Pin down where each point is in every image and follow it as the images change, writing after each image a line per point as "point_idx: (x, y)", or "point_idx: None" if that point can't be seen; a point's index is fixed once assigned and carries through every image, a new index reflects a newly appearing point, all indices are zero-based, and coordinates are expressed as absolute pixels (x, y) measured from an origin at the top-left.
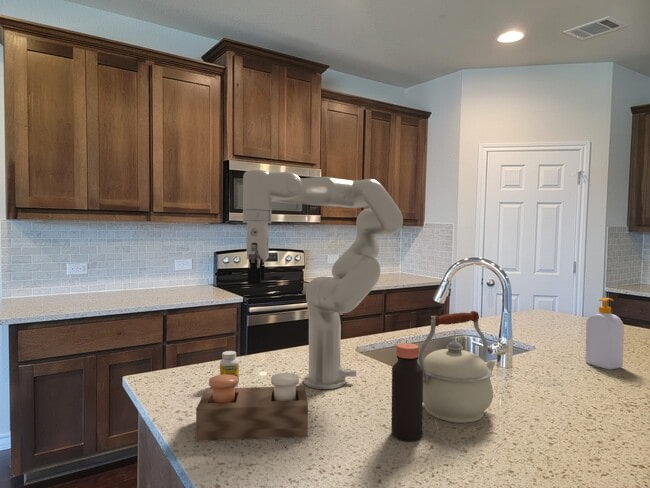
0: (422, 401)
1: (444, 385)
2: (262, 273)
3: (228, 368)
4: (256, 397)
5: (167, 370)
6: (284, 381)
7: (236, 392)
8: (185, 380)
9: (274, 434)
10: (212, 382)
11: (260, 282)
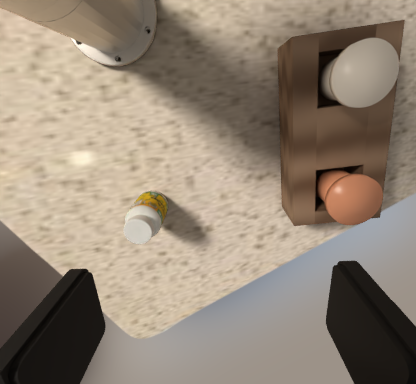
0: None
1: None
2: (68, 315)
3: (161, 217)
4: (346, 133)
5: (102, 306)
6: (394, 71)
7: (315, 173)
8: (141, 271)
9: None
10: (371, 215)
11: (342, 263)
